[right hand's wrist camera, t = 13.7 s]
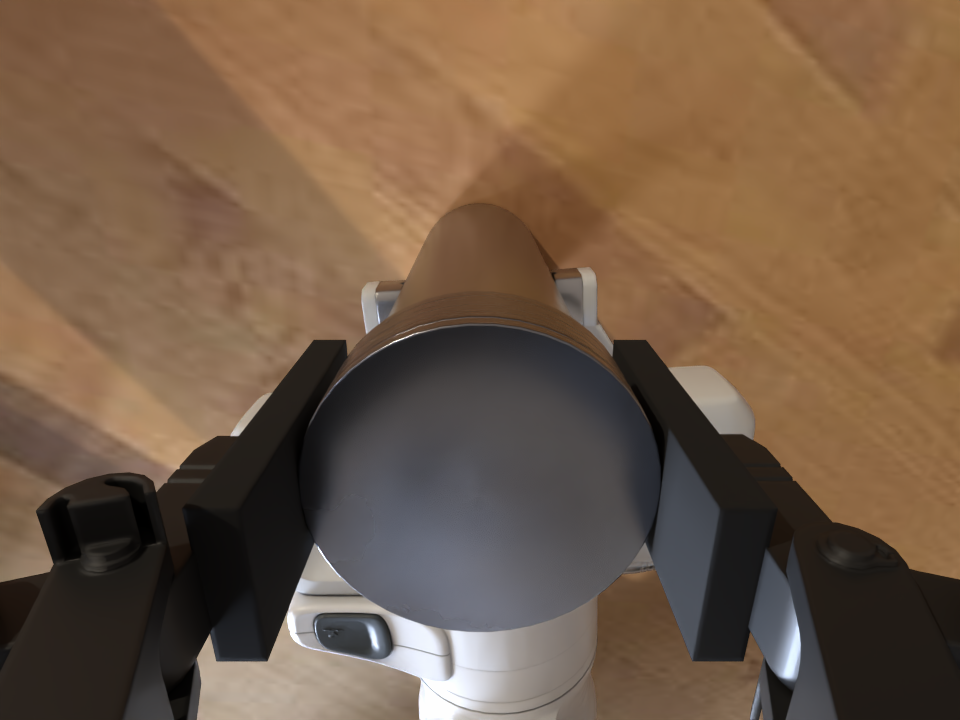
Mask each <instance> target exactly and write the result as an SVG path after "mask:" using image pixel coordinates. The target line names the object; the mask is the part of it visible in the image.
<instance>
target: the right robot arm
mask: <svg viewBox="0 0 960 720" xmlns="http://www.w3.org/2000/svg"><path fill="white" fill-rule="evenodd" d="M612 357H613V359H614V360H615V362H616V363H617V365H618V367H619V368H620V370H621V372H622V374H623V375H624V377H625V379H626V380H627V382H628V384H629V386H630V387H631V389H632V391H633V393H634V394H635V396H636V398H637V399H638V401H639V403H640V405H641V406H642V408H643V410H644V412H645V414H646V416H647V418H648V420H649V422H650V424H651V426H652V429H653V432H654V435H655V438H656V441H657V444H658V449H659V455H660V461H661V492H660V499H659V506H658V509H657V513H656V516H655V519H654V523H653V526H652V528H651V530H650V532H649V535H648V537H647V539H646V541H645V544H646V546H647V549H648V551H649V554H650V556H651V559H652V561H653V564H654V566H655V569H656V571H657V574H658V576H659V579H660V581H661V584H662V586H663V589H664V591H665V594H666V596H667V599H668V601H669V604H670V606H671V609H672V611H673V614H674V616H675V619H676V621H677V624H678V626H679V629H680V631H681V634H682V636H683V639H684V641H685V644H686V646H687V649H688V651H689V654H690V656H691V659H692V661H744V656H745V652H746V647H747V643H748V638H749V634H750V631H751V633H752V635H753V637H754V639H755V641H756V642H757V644H758V646H759V648H760V650H761V652H762V654H763V655H764V659H763V663H762V667H761V671H760V675H759V679H758V683H757V687H756V692H755V696H754V700H753V704H752V708H751V715H750V720H759V717H760V713H761V709H762V711H763V719H764V720H960V580H959V579H954V578H949V577H944V576H939V575H934V574H929V573H925V572H920V571H915V570H912V569H909V567H908V565H907V563H906V562H905V561H904V560H903V558H902V557H901V556H900V555H899V553H898V552H897V551H896V550H895V549H894V548H892V547H891V546H889V545H888V544H887V543H885V542H884V541H882V540H881V539H880V538H878V537H876V536H874V535H871V534H869V533H867V532H865V531H863V530H861V529H859V528H855V527H851V526H848V525H844V524H840V523H834V522H832V521H831V520H830V519H829V518H828V517H827V516H826V514H825V513H824V512H823V511H822V510H821V509H820V508H819V507H818V505H817V504H816V503H815V502H814V501H813V500H812V499H811V498H810V497H809V495H808V494H807V493H806V492H805V491H804V490H803V489H802V488H801V487H800V485H799V484H798V483H797V482H796V481H793V479H792V476H791V475H790V474H789V473H788V472H787V471H786V470H785V469H784V468H783V467H781V466H780V463H779V462H778V461H777V460H776V459H775V457H774V456H773V455H772V454H771V453H770V452H769V451H768V450H767V449H766V448H765V447H764V446H762V445H760V444H759V443H757V442H755V441H753V440H752V439H750V438H748V437H747V436H745V435H743V434H719V433H718V431H717V430H716V429H715V428H714V426H713V425H712V424H711V422H710V421H709V420H708V419H707V417H706V416H705V415H704V414H703V412H702V411H701V410H700V408H699V407H698V406H697V405H696V403H695V402H694V401H693V399H692V398H691V397H690V396H689V394H688V393H687V392H686V391H685V389H684V388H683V387H682V385H681V384H680V383H679V382H678V380H677V379H676V378H675V377H674V375H673V374H672V373H671V371H670V370H669V369H668V368H667V366H666V365H665V364H664V363H663V361H662V360H661V359H660V357H659V356H658V355H657V354H656V352H655V351H654V350H653V348H652V347H651V346H650V345H649V343H648V342H647V341H646V340H614V344H613V355H612ZM346 358H347V346H346V340H314V341H313V342H312V343H311V344H310V346H309V347H308V348H307V349H306V351H305V352H304V353H303V355H302V356H301V357H300V358H299V360H298V361H297V362H296V363H295V365H294V366H293V367H292V369H291V370H290V371H289V372H288V374H287V375H286V376H285V377H284V379H283V380H282V381H281V383H280V384H279V385H278V386H277V388H276V389H275V390H274V392H273V393H272V394H271V395H270V397H269V398H268V399H267V400H266V402H265V403H264V404H263V406H262V407H261V408H260V409H259V411H258V412H257V413H256V414H255V416H254V417H253V418H252V420H251V421H250V422H249V423H248V425H247V426H246V427H245V428H244V430H243V431H242V432H241V434H240V435H239V436H217V437H215V438H213V439H212V440H210V441H208V442H207V443H205V444H203V445H202V446H200V447H198V448H197V449H195V450H194V451H193V452H192V453H191V454H190V455H189V456H188V457H187V459H186V460H185V461H184V462H183V463H182V464H181V465H180V469H177V470H176V471H175V472H174V473H173V474H172V475H171V477H170V478H169V479H168V483H164V484H163V486H162V487H161V488H160V489H159V490H158V491H157V492H156V490H155V486H154V482H153V481H152V480H150V479H149V478H148V477H146V476H145V475H141V474H135V473H114V474H106V475H102V476H98V477H93V478H89V479H86V480H83V481H81V482H78V483H76V484H73V485H71V486H68V487H66V488H64V489H62V490H61V491H59V492H58V493H56V494H54V495H53V496H51V497H49V498H48V499H47V500H46V501H45V502H44V503H43V504H42V505H41V506H40V507H39V508H38V509H37V510H36V513H37V516H38V519H39V522H40V525H41V528H42V531H43V534H44V537H45V540H46V543H47V546H48V549H49V552H50V554H51V557H52V560H53V563H54V565H53V567H52V569H51V571H50V572H47V573H43V574H39V575H34V576H29V577H24V578H19V579H14V580H10V581H5V582H0V720H197V713H198V705H199V697H200V689H201V678H200V671H199V667H198V663H197V659H196V658H197V656H198V654H199V652H200V651H201V649H202V647H203V645H204V643H205V641H206V639H207V638H208V636H209V634H210V635H211V640H212V644H213V648H214V653H215V657H216V661H268V658H269V656H270V653H271V651H272V648H273V646H274V643H275V641H276V638H277V636H278V633H279V631H280V628H281V626H282V623H283V621H284V618H285V616H286V613H287V611H288V608H289V606H290V603H291V601H292V598H293V596H294V593H295V591H296V588H297V586H298V583H299V581H300V578H301V576H302V573H303V571H304V568H305V566H306V563H307V561H308V558H309V556H310V553H311V551H312V548H313V545H314V543H315V542H314V540H313V538H312V536H311V534H310V531H309V529H308V527H307V525H306V522H305V518H304V515H303V511H302V508H301V502H300V495H299V487H298V463H299V457H300V452H301V446H302V442H303V439H304V436H305V433H306V430H307V428H308V425H309V422H310V420H311V418H312V417H313V415H314V413H315V411H316V409H317V407H318V405H319V404H320V402H321V400H322V398H323V397H324V395H325V393H326V392H327V390H328V388H329V386H330V385H331V383H332V381H333V380H334V378H335V376H336V374H337V373H338V371H339V369H340V368H341V366H342V364H343V362H344V361H345V359H346Z"/></svg>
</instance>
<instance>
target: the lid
mask: <svg viewBox="0 0 960 720" xmlns="http://www.w3.org/2000/svg"><path fill="white" fill-rule="evenodd" d="M298 487H299V495H300V502H301V508H302V511H303V515H304V518H305V522H306V525H307V527H308V529H309V531H310V534H311V536H312V538H313V540H314V542H315V544H316V545H317V547H318V549H319V550H320V552H321V553H322V555H323V557H324V558H325V560H326V561H327V562H328V563H329V564H330V566H331V567H332V568H333V569H334V570H335V572H336V573H337V574H338V575H339V576H340V577H341V578H342V579H343V580H344V581H345V582H346V583H348V584H349V585H350V586H351V587H352V588H353V589H354V590H356V591H357V592H358V593H360V594H361V595H362V596H364V597H365V598H367V599H368V600H369V601H371V602H373V603H375V604H376V605H378V606H380V607H381V608H383V609H385V610H387V611H389V612H391V613H393V614H396V615H398V616H400V617H403V618H405V619H408V620H411V621H414V622H417V623H420V624H423V625H427V626H431V627H436V628H441V629H446V630H454V631H464V632H495V631H506V630H513V629H518V628H524V627H529V626H533V625H536V624H539V623H543V622H546V621H549V620H552V619H554V618H557V617H559V616H562V615H564V614H566V613H569V612H571V611H573V610H574V609H576V608H578V607H580V606H582V605H583V604H585V603H587V602H589V601H590V600H591V599H593V598H594V597H596V596H597V595H598V594H600V593H601V592H603V591H604V590H605V589H606V588H608V587H609V586H610V585H611V584H612V583H613V582H614V581H615V580H616V579H617V578H619V577H620V576H621V574H622V573H623V572H624V571H625V570H626V569H627V567H628V566H629V565H630V564H631V563H632V562H633V560H634V559H635V557H636V556H637V554H638V553H639V551H640V549H641V548H642V546H643V545H644V543H645V541H646V539H647V537H648V535H649V532H650V530H651V528H652V526H653V523H654V519H655V516H656V513H657V509H658V506H659V499H660V492H661V461H660V455H659V449H658V444H657V441H656V438H655V435H654V432H653V429H652V426H651V424H650V422H649V420H648V418H647V416H646V414H645V412H644V410H643V408H642V406H641V405H640V403H639V401H638V399H637V398H636V396H635V394H634V393H633V391H632V389H631V387H630V386H629V384H628V382H627V380H626V379H625V377H624V375H623V374H622V372H621V370H620V368H619V367H618V365H617V363H616V362H615V360H614V359H613V357H612V356H611V355H610V353H609V352H608V351H607V349H606V348H605V346H604V345H603V344H602V343H601V342H600V341H599V340H598V339H597V338H596V337H595V336H594V335H593V334H592V333H591V332H590V331H589V330H588V329H586V328H585V327H584V326H582V325H581V324H580V323H579V322H577V321H576V320H575V319H573V318H572V317H570V316H568V315H566V314H565V313H563V312H561V311H560V310H558V309H556V308H554V307H551V306H549V305H547V304H544V303H542V302H539V301H537V300H534V299H530V298H527V297H523V296H519V295H516V294H510V293H502V292H495V291H466V292H457V293H449V294H444V295H440V296H436V297H433V298H429V299H425V300H423V301H420V302H418V303H415V304H413V305H410V306H408V307H405V308H404V309H402V310H400V311H398V312H397V313H395V314H393V315H391V316H389V317H388V318H386V319H385V320H384V321H382V322H381V323H380V324H378V325H377V326H376V327H374V328H373V329H372V330H371V331H370V332H369V333H368V334H367V335H366V336H365V337H364V338H363V339H362V340H361V341H360V342H359V343H358V344H357V345H356V346H355V347H354V349H353V350H352V351H351V353H350V354H349V355H348V357H347V358H346V359H345V361H344V362H343V364H342V366H341V368H340V369H339V371H338V373H337V374H336V376H335V378H334V380H333V381H332V383H331V385H330V386H329V388H328V390H327V392H326V393H325V395H324V397H323V398H322V400H321V402H320V404H319V405H318V407H317V409H316V411H315V413H314V415H313V417H312V418H311V420H310V422H309V425H308V428H307V430H306V433H305V436H304V439H303V442H302V446H301V452H300V457H299V463H298Z"/></svg>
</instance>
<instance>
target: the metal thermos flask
mask: <svg viewBox="0 0 960 720" xmlns="http://www.w3.org/2000/svg"><path fill="white" fill-rule="evenodd" d="M466 291H495V292H502V293H510V294H516V295H519V296H523V297H527V298H530V299H534V300H537V301H539V302H542V303H544V304H547V305H549V306H551V307H554V308H556V309H558V310H560V311H561V312H563V313H565V314H566V315H568V316H570V317H572V316H571V314H570V312H569V310H568V308H567V306H566V304H565V302H564V300H563V298H562V296H561V294H560V292H559V290H558V288H557V286H556V283H555V281H554V279H553V277H552V275H551V273H550V271H549V269H548V267H547V265H546V263H545V261H544V259H543V257H542V255H541V253H540V251H539V248H538V246H537V244H536V242H535V240H534V238H533V236H532V234H531V232H530V231H529V229H528V228H527V227H526V225H525V224H524V223H523V222H522V221H521V220H520V219H519V218H518V217H517V216H515V215H514V214H513V213H511V212H509V211H508V210H506V209H503V208H501V207H498V206H495V205H490V204H470V205H465V206H462V207H459V208H457V209H454V210H452V211H451V212H449V213H447V214H446V215H445V216H443V217H442V218H441V219H440V220H439V221H438V222H437V223H436V224H435V225H434V227H433V228H432V229H431V231H430V232H429V234H428V236H427V238H426V240H425V242H424V244H423V246H422V248H421V250H420V252H419V254H418V256H417V258H416V260H415V263H414V265H413V267H412V269H411V271H410V273H409V275H408V277H407V279H406V281H405V283H404V285H403V287H402V289H401V291H400V293H399V295H398V297H397V299H396V301H395V303H394V305H393V307H392V309H391V312H390V314H389V316H391V315H393V314H395V313H397V312H398V311H400V310H402V309H404V308H405V307H408V306H410V305H413V304H415V303H418V302H420V301H423V300H425V299H429V298H433V297H436V296H440V295H444V294H449V293H457V292H466ZM389 316H388V317H389Z"/></svg>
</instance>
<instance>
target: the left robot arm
mask: <svg viewBox="0 0 960 720" xmlns="http://www.w3.org/2000/svg"><path fill="white" fill-rule="evenodd" d="M551 275H552V277H553V279H554V281H555V283H556V286H557V288H558V290H559V292H560V294H561V296H562V298H563V300H564V302H565V304H566V306H567V308H568V310H569V312H570V314H571V316H572V318H573V319H575V320H576V321H577V322H579V323H580V324H581V325H582V326H584V327H585V328H586V329H588V330H589V331H590V332H591V333H592V334H593V335H594V336H595V337H596V338H597V339H598V340H599V341H600V342H601V343H602V344H603V345H604V346H605V348H606V349H607V351H608V352H609V353H610V355H611V356H612V355H613V344H612V342H611V340H610V339H609V337H608V336H607V334H606V332H605V331H604V329H603V328H602V326H601V324H600V323H599V321H598V319H597V280H596V275H595V273H594V271H593V270H592V269H591V268H590V267H584V268H570V269H557V270H551ZM405 281H406V280H397V281H375V282H367V283H366V285H365V286H364V288H363V289H362V308H363V315H364V321H365V328H366V335H367V334H368V333H369V332H370V331H371V330H372V329H373V328H374V327H376V326H377V325H378V324H380V323H381V322H382V321H384V320H385V319H386V318H388V316H389V314H390V312H391V309H392V307H393V305H394V303H395V301H396V299H397V297H398V295H399V293H400V291H401V289H402V287H403V285H404V283H405ZM668 369H669V370H670V371H671V373H672V374H673V375H674V377H675V378H676V379H677V380H678V382H679V383H680V384H681V385H682V387H683V388H684V389H685V391H686V392H687V393H688V394H689V396H690V397H691V398H692V399H693V401H694V402H695V403H696V405H697V406H698V407H699V408H700V410H701V411H702V412H703V414H704V415H705V416H706V417H707V419H708V420H709V421H710V422H711V424H712V425H713V426H714V428H715V429H716V430H717V431H718V433H719V434H743V435H745V436H747V437H748V438H750V439H752V440H753V438H754V432H755V416H754V413H753V411H752V409H751V407H750V405H749V404H748V402H747V401H746V400H745V398H744V397H743V396H742V395H741V394H740V392H739V391H738V390H737V389H736V388H735V387H734V386H733V385H732V384H731V383H730V382H729V381H728V380H727V379H725V378H724V377H723V376H722V375H721V374H720V373H719V372H717V371H716V370H715V369H713V368H712V367H709V366H685V367H669V368H668ZM272 393H273V392H272ZM272 393H267V394H265V395H263V396H261V397H260V398H259V399H258V400H257V401H256V402H255V403H254V405H253V406H252V407H251V408H250V409H249V410H248V411H247V412H246V413H245V415H244V416H243V417H242V418H241V420H240V421H239V423H238V424H237V425H236V427H235V428H234V430H233V432H232V434H231V436H239V435H240V434H241V432H242V431H243V430H244V428H245V427H246V426H247V425H248V423H249V422H250V421H251V420H252V418H253V417H254V416H255V414H256V413H257V412H258V411H259V409H260V408H261V407H262V406H263V404H264V403H265V402H266V400H267V399H268V398H269V397H270V395H271V394H272ZM652 570H656V569H655V566H654V564H653V561H652V559H651V556H650V554H649V551H648V549H647V546H646V544H645V543H644V545H643V546H642V548H641V549H640V551H639V553H638V554H637V556H636V557H635V559H634V560H633V562H632V563H631V564H630V565H629V566H628V567H627V569H626V570H625V571H624V572H623V573H622V574H634V573H640V572H646V571H652ZM597 611H598V595H597V596H596V597H594V598H593V599H591V600H590V601H589V602H587V603H585V604H583V605H582V606H580V607H578V608H576V609H574V610H573V611H571V612H569V613H566V614H564V615H562V616H559V617H557V618H554V619H552V620H549V621H546V622H543V623H539V624H536V625H533V626H529V627H524V628H518V629H513V630H506V631H495V632H464V631H454V630H446V629H441V628H436V627H431V626H427V625H423V624H420V623H417V622H414V621H411V620H408V619H405V618H403V617H400V616H398V615H396V614H393V613H391V612H389V611H387V610H385V609H383V608H381V607H380V606H378V605H376V604H375V603H373V602H371V601H369V600H368V599H367V598H365V597H364V596H362V595H361V594H360V593H358V592H357V591H356V590H354V589H353V588H352V587H351V586H350V585H349V584H348V583H346V582H345V581H344V580H343V579H342V578H341V577H340V576H339V575H338V574H337V573H336V572H335V570H334V569H333V568H332V567H331V566H330V564H329V563H328V562H327V561H326V560H325V558H324V557H323V555H322V553H321V552H320V550H319V549H318V547H317V545H316V544H315V543H314V545H313V548H312V551H311V553H310V556H309V558H308V561H307V563H306V566H305V568H304V571H303V573H302V576H301V578H300V581H299V583H298V586H297V588H296V591H295V593H294V596H293V598H292V601H291V603H290V607H289V611H288V617H287V620H288V627H289V631H290V634H291V636H292V638H293V639H294V640H295V642H297V643H298V644H300V645H301V646H304V647H306V648H310V649H314V650H319V651H324V652H329V653H335V654H340V655H345V656H350V657H354V658H359V659H363V660H367V661H371V662H375V663H379V664H383V665H386V666H389V667H392V668H395V669H398V670H401V671H404V672H406V673H409V674H412V675H414V676H417V677H419V678H420V680H421V687H420V693H419V718H420V720H597V701H596V692H595V686H594V682H593V678H592V675H591V669H592V667H593V663H594V660H595V656H596V649H597Z"/></svg>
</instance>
